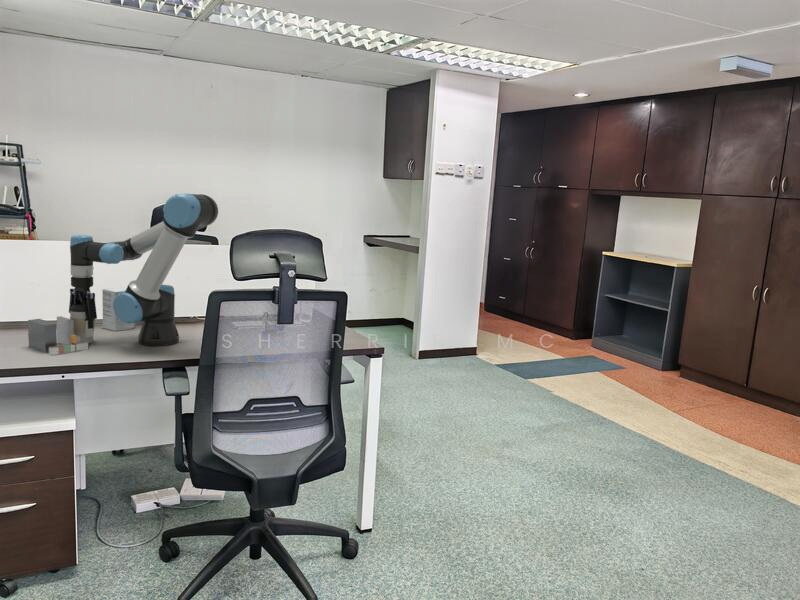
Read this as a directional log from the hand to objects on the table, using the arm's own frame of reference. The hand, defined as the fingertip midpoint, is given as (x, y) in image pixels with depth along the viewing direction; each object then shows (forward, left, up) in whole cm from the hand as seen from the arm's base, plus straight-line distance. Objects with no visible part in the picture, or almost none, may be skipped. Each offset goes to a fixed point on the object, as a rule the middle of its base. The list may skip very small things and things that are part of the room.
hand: (83, 334), depth 234 cm
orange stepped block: (-10, +8, 0) cm, 13 cm away
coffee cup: (0, 0, -3) cm, 3 cm away
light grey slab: (-3, +7, -3) cm, 8 cm away
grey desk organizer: (-3, +11, -3) cm, 11 cm away
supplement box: (+14, -23, -3) cm, 27 cm away
